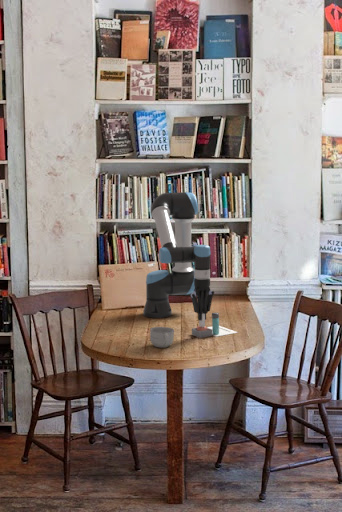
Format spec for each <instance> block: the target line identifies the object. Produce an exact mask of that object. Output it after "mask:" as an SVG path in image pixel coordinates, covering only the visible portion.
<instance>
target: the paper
mask: <svg viewBox="0 0 342 512" xmlns="http://www.w3.org/2000/svg"><path fill="white" fill-rule="evenodd" d="M207 328H209V329H212V325H211V326H207ZM238 333H239V332H238V331H236V330H232V329H231V328H230V329H229V328H227V327H224V326H221V325H219V334H218V335H214V334H212V336H213V337H215V338H217V337H222V336H228V335H233V334H238Z"/></svg>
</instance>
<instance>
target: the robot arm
mask: <svg viewBox="0 0 342 512" xmlns="http://www.w3.org/2000/svg"><path fill="white" fill-rule="evenodd" d="M197 199H198V198H197V197H196V195H195V194H194V193H193V192H187V191H186V192H185V191H184V192H165V193H161V194H160V195H158V196H156V198H155V199H154V200H153V202H152V204H151V207H150V213H151V217H152V219H153V220H154V223H155V227H156V230H157V234H158V238H159V242H160V245H161V247H160V248H159V249H158V259H159V262H160V263H161V264H174V267H173V268H171V272H169V270H166V269H158V270H154V271H151V272H149V273H147V275H146V277H145V278H146V279H145V284H146V286H145V287H146V289H145V290H146V291H145V292H146V295H145V296H146V297H145V298H146V300H145V303H144V308H143V313H142V315H143V317H146V318H152V319H155V318H156V319H163V318H168V317H171V316H172V312H173V311H172V307H171V304H170V302H169V296H175V295H185V296H186V295H189V297H190V298H191V302H192V307H193V311H194V313H196V314H197V320H198V326H200V327H205V326H206V320H207V314H208V312H210V311H211V306H212V302H213V297H214V295H215V291H214V290H212V289H211V278H210V277H211V247H210V246H209V245H206V244H196V245H192V222H193V221H194V220H195V216H197V215H198V213H199V207H198V206H199V205H198V200H197ZM170 216H171V217H172V220H173V221H174V228H173V225H172V222H171V217H170ZM192 263H194V264H193V266H194V268H193V266H192Z"/></svg>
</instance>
